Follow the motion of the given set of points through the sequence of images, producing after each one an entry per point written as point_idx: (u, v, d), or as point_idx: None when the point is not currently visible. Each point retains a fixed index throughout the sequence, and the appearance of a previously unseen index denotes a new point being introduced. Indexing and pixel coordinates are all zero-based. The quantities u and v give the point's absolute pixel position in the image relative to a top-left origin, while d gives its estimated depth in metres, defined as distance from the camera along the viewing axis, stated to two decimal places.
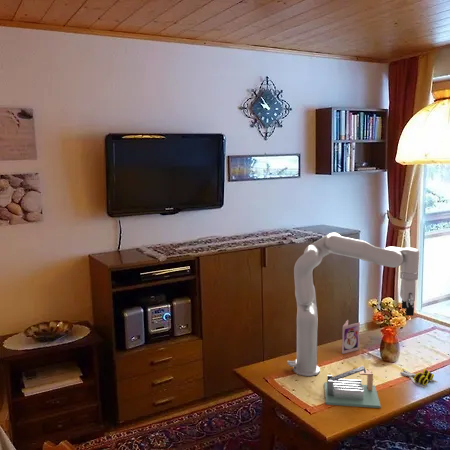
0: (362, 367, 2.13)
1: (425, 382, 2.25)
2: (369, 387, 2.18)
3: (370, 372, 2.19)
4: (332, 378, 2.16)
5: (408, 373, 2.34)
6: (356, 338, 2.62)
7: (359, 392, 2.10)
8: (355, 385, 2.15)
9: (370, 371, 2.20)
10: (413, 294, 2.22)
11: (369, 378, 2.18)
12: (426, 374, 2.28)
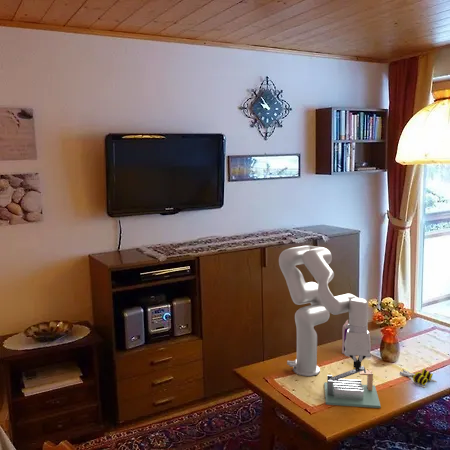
0: (362, 367, 2.13)
1: (424, 382, 2.26)
2: (369, 387, 2.18)
3: (370, 372, 2.19)
4: (332, 378, 2.16)
5: (407, 373, 2.34)
6: None
7: (359, 392, 2.10)
8: (355, 385, 2.15)
9: (370, 371, 2.20)
10: None
11: (369, 378, 2.18)
12: (425, 374, 2.28)
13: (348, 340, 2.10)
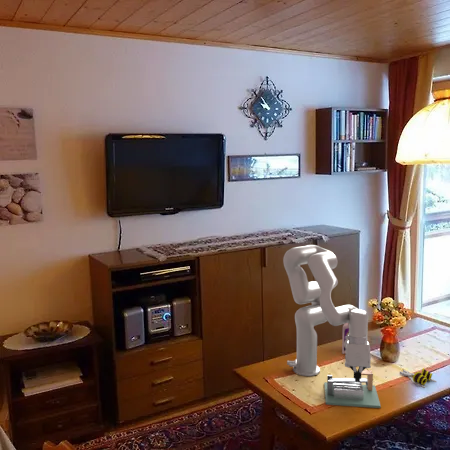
0: (365, 379, 2.14)
1: (424, 381, 2.26)
2: (369, 387, 2.18)
3: (370, 372, 2.19)
4: (333, 379, 2.16)
5: (407, 373, 2.34)
6: None
7: (359, 392, 2.10)
8: (355, 385, 2.15)
9: (370, 371, 2.20)
10: None
11: (369, 378, 2.18)
12: (425, 373, 2.28)
13: (348, 351, 2.10)
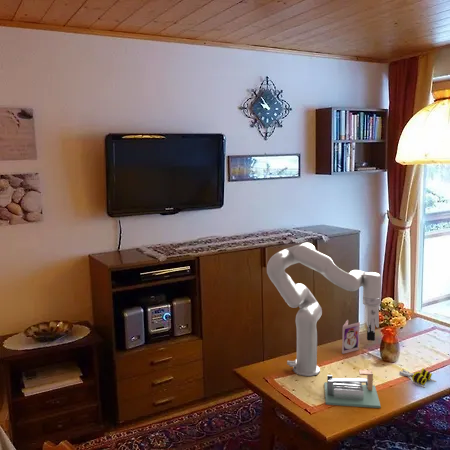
0: (365, 379, 2.14)
1: (423, 381, 2.26)
2: (369, 387, 2.18)
3: (370, 372, 2.19)
4: (333, 379, 2.16)
5: (407, 373, 2.34)
6: (356, 338, 2.62)
7: (359, 392, 2.10)
8: (355, 385, 2.15)
9: (370, 371, 2.20)
10: None
11: (369, 378, 2.18)
12: (424, 373, 2.29)
13: (378, 313, 2.19)
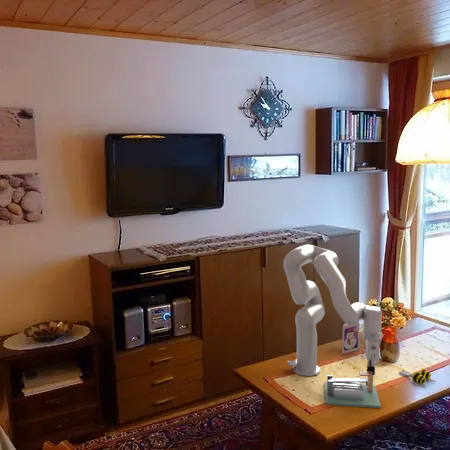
0: (365, 379, 2.14)
1: (423, 381, 2.26)
2: (369, 388, 2.17)
3: (370, 373, 2.18)
4: (333, 379, 2.16)
5: (407, 373, 2.34)
6: (356, 338, 2.62)
7: (359, 392, 2.10)
8: (355, 385, 2.15)
9: (370, 372, 2.19)
10: None
11: (369, 379, 2.17)
12: (423, 373, 2.29)
13: None
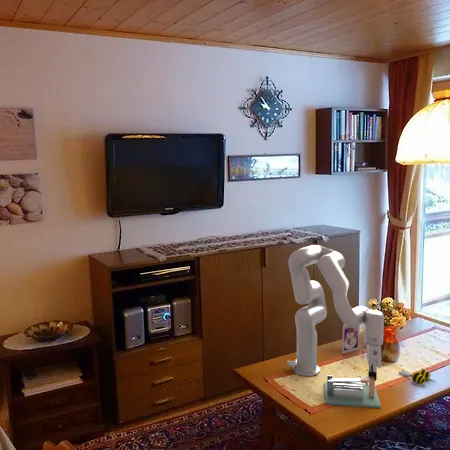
0: None
1: (422, 381, 2.26)
2: (371, 394, 2.12)
3: (372, 379, 2.13)
4: (333, 379, 2.16)
5: (406, 372, 2.34)
6: (356, 338, 2.62)
7: (359, 392, 2.10)
8: (355, 385, 2.15)
9: (372, 378, 2.14)
10: None
11: (371, 385, 2.11)
12: (423, 373, 2.29)
13: (380, 354, 2.11)
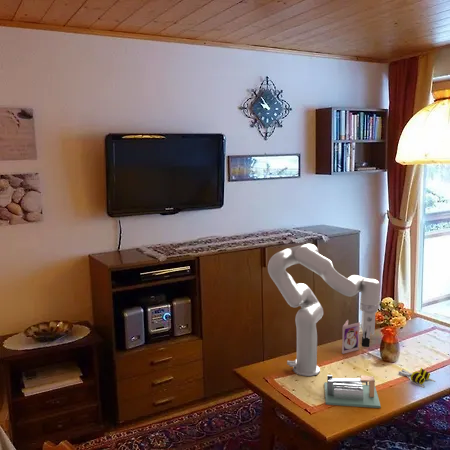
0: None
1: (422, 381, 2.27)
2: (371, 394, 2.12)
3: (372, 378, 2.13)
4: (333, 379, 2.16)
5: (406, 372, 2.34)
6: (356, 338, 2.62)
7: (359, 392, 2.10)
8: (355, 385, 2.15)
9: (372, 377, 2.14)
10: None
11: (371, 385, 2.12)
12: (423, 373, 2.29)
13: (374, 321, 2.17)
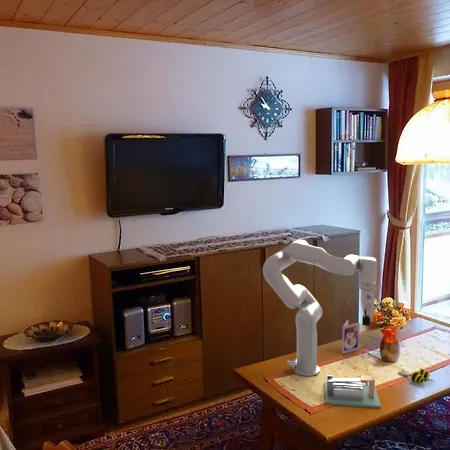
0: None
1: (421, 381, 2.27)
2: (371, 394, 2.12)
3: (372, 378, 2.13)
4: (333, 379, 2.16)
5: (406, 372, 2.34)
6: (356, 338, 2.62)
7: (359, 392, 2.10)
8: (355, 385, 2.15)
9: (372, 377, 2.14)
10: None
11: (371, 385, 2.12)
12: (422, 373, 2.29)
13: None
